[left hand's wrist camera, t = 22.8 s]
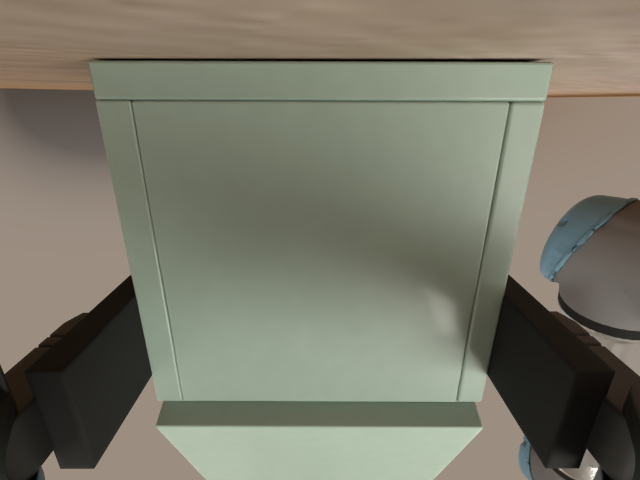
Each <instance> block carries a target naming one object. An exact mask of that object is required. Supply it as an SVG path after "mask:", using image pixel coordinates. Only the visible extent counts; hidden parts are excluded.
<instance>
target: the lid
mask: <svg viewBox="0 0 640 480" xmlns="http://www.w3.org/2000/svg"><path fill="white" fill-rule="evenodd" d="M156 428H157V429H158V430H159V431H160V432H161V433H162V434H163V435H164V436H165V437H166V438H167V439H168V440H169V441H170V442H171V443H172V444H173V445H174V446H175V447H176V449H177V450H178V451H179V452H180V453H181V454H182V455H183V456H184V457H185V458H186V459H187V460H188V461H189V462H190V463H191V464H192V465H193V466H194V467H195V469H196V470H197V471H198V472H199V473H200V474H201V475H202V476H203V477H204V478H205V479H206V480H433V479H434V478H435V477H436V476H437V475H438V474H439V473H440V472H441V471H442V470H443V469H444V468H445V467H446V466H447V465H448V464H449V463H450V462H451V461H452V460H453V459H454V458H455V457H456V456H457V455H458V454H459V452H460V451H461V450H462V449H463V448H464V447H465V446H466V445H467V444H468V443H469V442H470V441H471V440H472V439H473V438H474V437H475V436H476V435H477V434H478V433H479V432H480V431H481V430H482V429H483V426H482V423H481V420H480V416H479V413H478V409H477V406H476V403H475V402H351V401H164V402H163V404H162V408H161V411H160V414H159V417H158V421H157V424H156Z"/></svg>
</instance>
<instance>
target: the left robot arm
mask: <svg viewBox="0 0 640 480" xmlns="http://www.w3.org/2000/svg"><path fill="white" fill-rule="evenodd" d="M487 375H488V376H489V378H490V379H491V381H492V383H493V384H494V386H495V388H496V389H497V391H498V392H499V394H500V396H501V397H502V399H503V400H504V402H505V404H506V405H507V407H508V409H509V410H510V412H511V413H512V415H513V417H514V418H515V420H516V421H517V423H518V425H519V426H520V428H521V430H522V431H523V433H524V435H525V436H526V438H527V439H528V441H529V443H530V444H531V446H532V448H533V449H534V451H535V452H536V454H537V456H538V457H539V459H540V460H541V462H542V464H543V465H544V467H545V468H579V467H580V465H581V462H582V460H583V457H584V454H585V452H586V449H587V450H588V451H589V452H590V453H591V455H592V456H593V457H594V459H595V460H596V461H597V463H598V464H599V467H598V469H597V472H596V474H595V477H594V479H593V480H640V376H639V375H638V374H636V373H635V372H634V371H633V370H632V369H631V368H629V367H628V366H627V365H626V364H625V363H624V362H622V361H621V360H620V359H619V358H618V357H617V356H615V355H614V354H613V353H612V352H611V351H610V350H608V349H607V348H606V347H605V346H602V345H601V343H600V342H599V341H598V340H597V339H595V338H594V337H593V336H590V333H588V332H587V331H586V330H585V329H584V328H583V327H581V326H580V325H579V324H578V323H577V322H575V321H574V320H572V319H570V318H568V317H566V316H564V315H562V314H560V313H559V312H549V311H548V310H547V309H546V308H545V307H544V306H543V305H542V304H540V303H539V302H538V301H537V300H536V299H535V298H534V297H533V296H532V295H531V294H529V293H528V292H527V291H526V290H525V289H524V288H523V287H522V286H521V285H520V284H518V283H517V282H516V281H515V280H514V279H513V278H512V277H511V276H510V275H508V279H507V283H506V288H505V293H504V297H503V302H502V307H501V311H500V316H499V321H498V326H497V330H496V335H495V340H494V344H493V349H492V354H491V358H490V363H489V368H488V372H487ZM151 376H152V371H151V366H150V361H149V357H148V352H147V347H146V342H145V338H144V333H143V328H142V323H141V318H140V314H139V309H138V304H137V299H136V295H135V290H134V286H133V281H132V276H131V275H130V276H129V277H128V278H127V279H126V280H125V281H123V282H122V283H121V284H120V285H119V286H118V287H117V288H116V289H115V290H114V291H112V292H111V293H110V294H109V295H108V296H107V297H106V298H105V299H104V300H103V301H101V302H100V303H99V304H98V305H97V306H96V307H95V308H94V309H93V310H91V311H90V312H89V313H82V314H80V315H78V316H76V317H74V318H73V319H71V320H69V321H67V322H65V323H64V324H63V325H61V326H60V327H59V328H58V329H57V330H56V331H54V332H53V333H52V334H51V335H50V337H47V338H46V339H45V340H44V341H43V342H42V343H40V344H39V347H38V348H35V349H33V350H32V351H31V352H30V353H29V354H28V355H26V356H25V357H24V358H23V359H22V360H21V361H19V362H18V363H17V364H16V365H15V366H14V367H13V368H11V369H10V370H9V371H8V372H7V373H6V374H4V372H3V370H2V368H1V365H0V480H45V476H44V472H43V469H42V467H41V465H42V464H43V463H44V462H45V460H46V459H47V458H48V456H49V455H50V454H51V452H52V451H53V450H54V453H55V455H56V458H57V461H58V463H59V466H60V468H61V469H94V468H95V466H96V465H97V463H98V462H99V460H100V458H101V457H102V455H103V453H104V452H105V450H106V449H107V447H108V445H109V444H110V442H111V441H112V439H113V437H114V436H115V434H116V432H117V431H118V429H119V428H120V426H121V424H122V423H123V421H124V419H125V418H126V416H127V415H128V413H129V411H130V410H131V408H132V407H133V405H134V403H135V402H136V400H137V398H138V397H139V395H140V394H141V392H142V390H143V389H144V387H145V385H146V384H147V382H148V381H149V379H150V377H151Z"/></svg>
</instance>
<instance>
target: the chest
mask: <svg viewBox="0 0 640 480" xmlns="http://www.w3.org/2000/svg"><path fill="white" fill-rule="evenodd" d="M88 65H89V70H90V75H91V80H92V85H93V90H94V94H95V97H96V99H98V100H97V101H96V106H97V111H98V116H99V121H100V125H101V130H102V135H103V140H104V145H105V150H106V155H107V159H108V164H109V169H110V174H111V179H112V183H113V188H114V193H115V198H116V203H117V208H118V213H119V217H120V222H121V227H122V232H123V237H124V242H125V247H126V252H127V256H128V261H129V266H130V271H131V276H132V281H133V286H134V290H135V295H136V299H137V304H138V309H139V314H140V318H141V323H142V328H143V333H144V338H145V342H146V347H147V352H148V357H149V361H150V366H151V371H152V378H153V382H154V387H155V392H156V397H157V400H158V401H182V400H184V401H351V402H455V401H456V400H457V401H459V402H480V401H481V400H482V396H483V391H484V386H485V382H486V377H487V372H488V368H489V363H490V358H491V354H492V349H493V344H494V340H495V335H496V330H497V326H498V321H499V316H500V311H501V307H502V302H503V297H504V293H505V288H506V283H507V279H508V274H509V269H510V265H511V260H512V255H513V251H514V246H515V241H516V236H517V232H518V227H519V222H520V217H521V213H522V208H523V204H524V199H525V194H526V189H527V185H528V180H529V175H530V171H531V166H532V161H533V157H534V152H535V147H536V143H537V138H538V133H539V128H540V124H541V119H542V115H543V110H544V103H542V101H544V100H545V99H546V97H547V93H548V88H549V83H550V79H551V74H552V69H553V63H551V62H402V61H121V60H91V61H89V63H88Z"/></svg>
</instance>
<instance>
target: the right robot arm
mask: <svg viewBox="0 0 640 480" xmlns="http://www.w3.org/2000/svg"><path fill="white" fill-rule="evenodd" d="M540 270H541V273H542V274H543V275H544V277H546V278H547V279H549V281H551V282H557V283H559V293H558V304H559V307H560V309H561V310H562V312H563V313H564V314H565V315H566V316H567V317H568V318H570V319H572V320H574V321H575V322H577V323H578V324H579V325H580V326H581V327H583V328H584V329H585V330H586V331H587V332H588V333H590V336H593V337H594V338H595V339H597V340H598V341H599V342H600V343H601V345H602V346H605V347H606V348H607V349H608V350H610V351H611V352H612V353H613V354H614V355H615V356H617V357H618V358H619V359H620V360H621V361H622V362H624V363H625V364H626V365H627V366H628V367H629V368H631V369H632V370H633V371H634V372H635V373H636V374H638V375H639V376H640V200H638V199H637V198H629V199H626V198H619V197H612V196H604V195H596V196H591V197H588V198H586V199H584V200H582V201H580V202H578V203H577V204H576V205H574V206H573V207H572V208H571V209H570V210H569V211H568V212H567V213H566V214H565V215H564V216H563V217H562V218H561V220H560V221H559V223H558V224H557V225H556V226H555V228H554V230H553V231H552V233H551V234H550V236H549V238H548V240H547V242H546V244H545V247H544V249H543V252H542V255H541V260H540ZM519 465H520V468H521V471H522V472H523V474H524V475H525V476H526V477H527V478H528V479H529V480H593V479H594V477H595V474H596V472H597V469H598V467H599V464H598V463H597V461H596V460H595V459H594V457H593V456H592V455H591V453H590V452H589V451H588V450H587V449H586V452H585V454H584V457H583V460H582V462H581V465H580V467H579V468H545V467H544V465H543V464H542V462H541V460H540V459H539V457H538V456H537V454H536V452H535V451H534V449H533V448H532V446H531V444H530V443H529V441H528V439H527V438H526V436H524V442H523V443H522V444H521V445H520V449H519Z"/></svg>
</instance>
